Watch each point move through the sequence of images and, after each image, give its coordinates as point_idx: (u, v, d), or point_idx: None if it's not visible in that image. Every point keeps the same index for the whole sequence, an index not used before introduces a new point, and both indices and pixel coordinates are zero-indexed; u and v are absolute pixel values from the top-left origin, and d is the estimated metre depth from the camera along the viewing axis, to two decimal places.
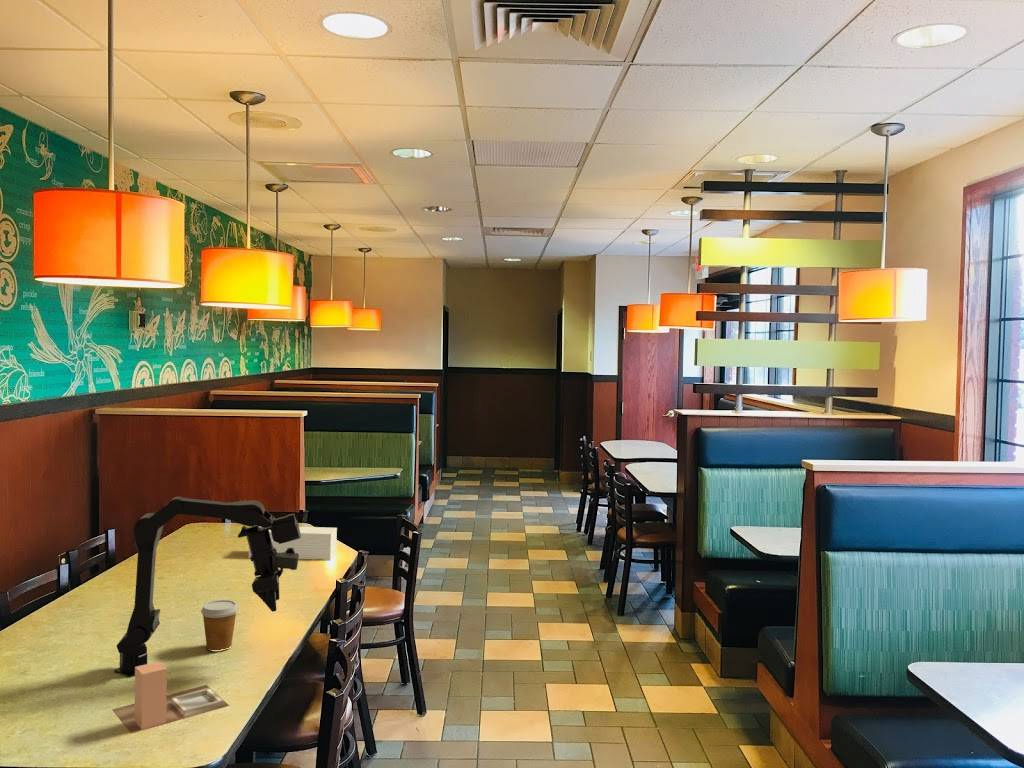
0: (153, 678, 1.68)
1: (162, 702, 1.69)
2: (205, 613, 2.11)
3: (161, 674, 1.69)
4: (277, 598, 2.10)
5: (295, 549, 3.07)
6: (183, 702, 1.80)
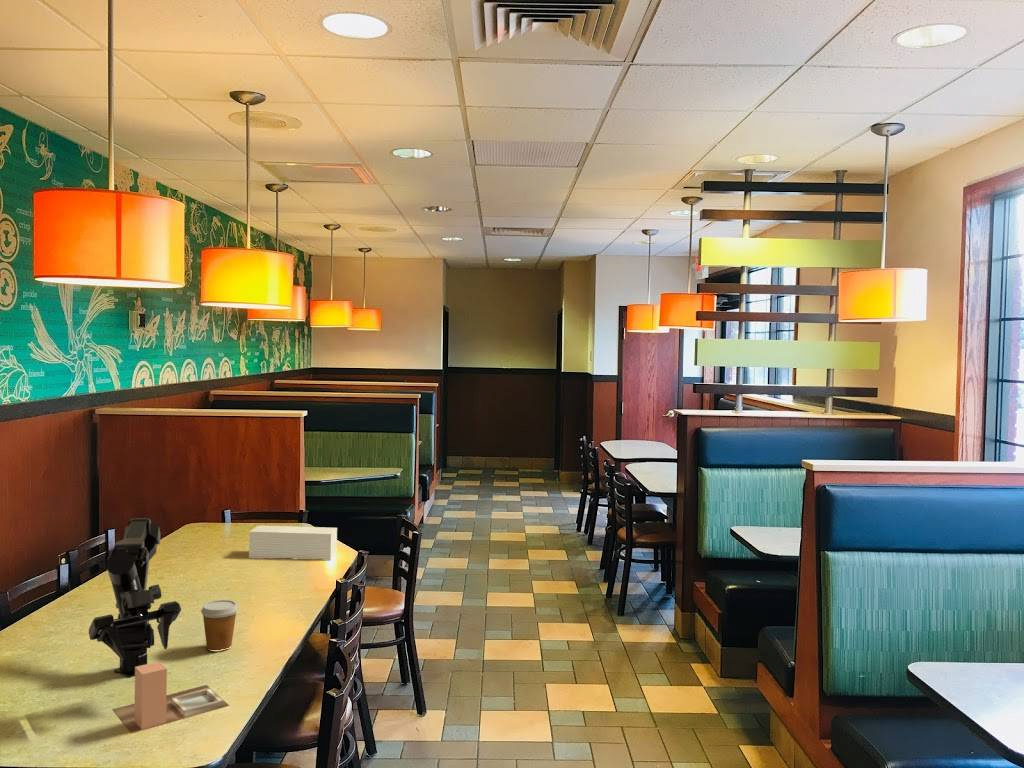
0: (153, 678, 1.68)
1: (162, 702, 1.69)
2: (205, 613, 2.11)
3: (161, 674, 1.69)
4: (164, 646, 1.79)
5: (295, 549, 3.07)
6: (183, 702, 1.80)
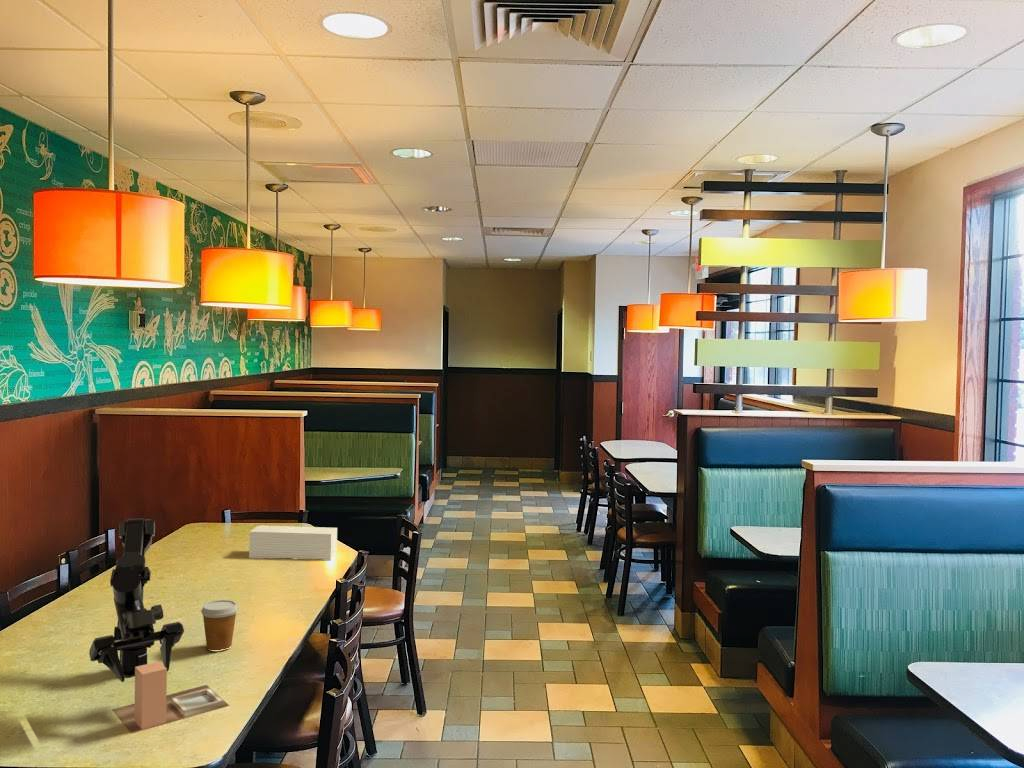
0: (153, 678, 1.68)
1: (162, 702, 1.69)
2: (205, 613, 2.11)
3: (161, 674, 1.69)
4: None
5: (295, 549, 3.07)
6: (183, 702, 1.80)
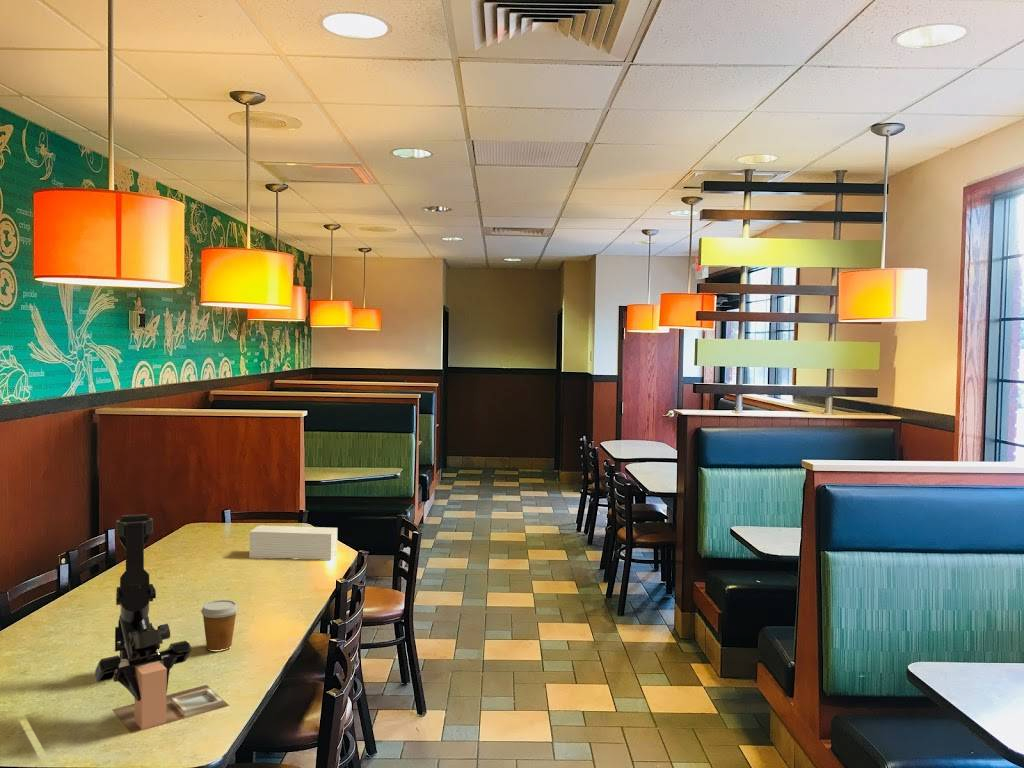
0: (153, 678, 1.68)
1: (162, 702, 1.69)
2: (205, 613, 2.11)
3: (161, 674, 1.69)
4: None
5: (296, 549, 3.07)
6: (183, 702, 1.80)
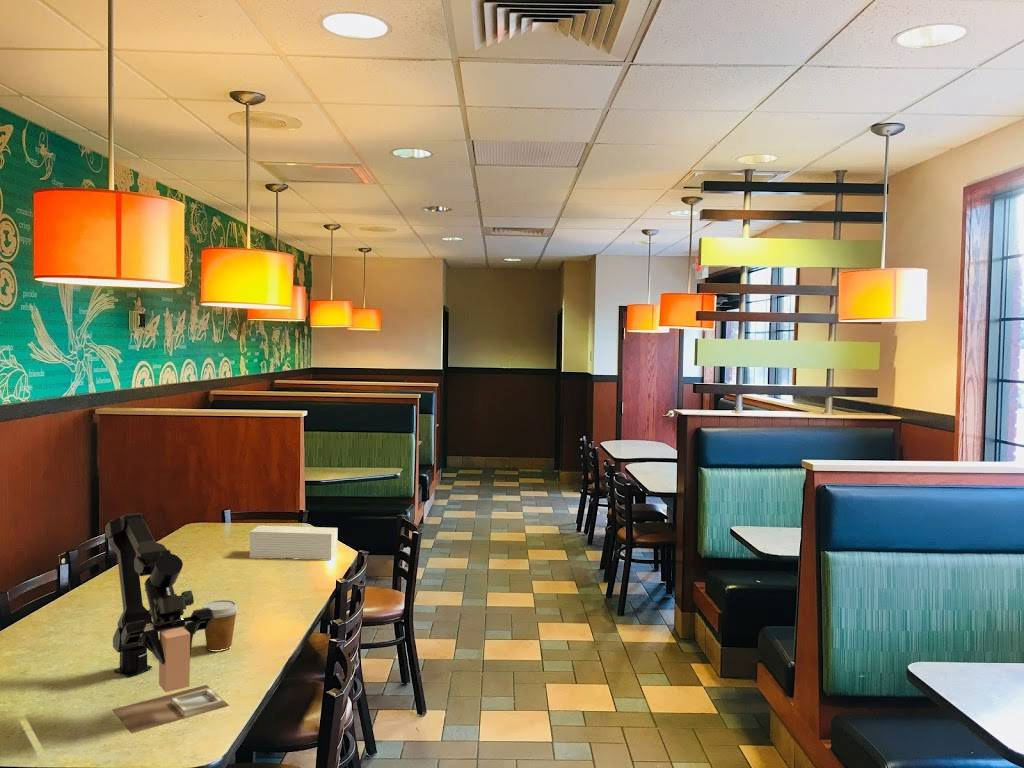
0: (177, 643, 1.72)
1: (186, 666, 1.74)
2: None
3: (185, 638, 1.73)
4: None
5: (296, 549, 3.07)
6: (183, 702, 1.80)
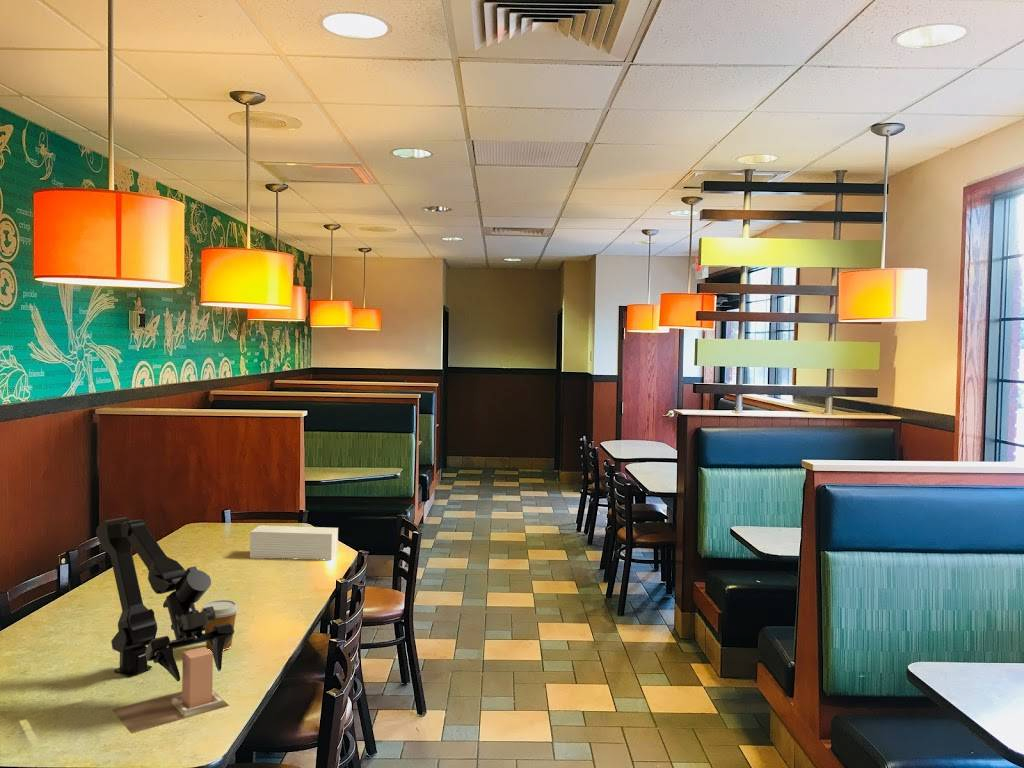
0: (201, 662, 1.77)
1: (209, 685, 1.78)
2: None
3: (208, 658, 1.78)
4: (218, 668, 1.81)
5: (296, 549, 3.07)
6: None
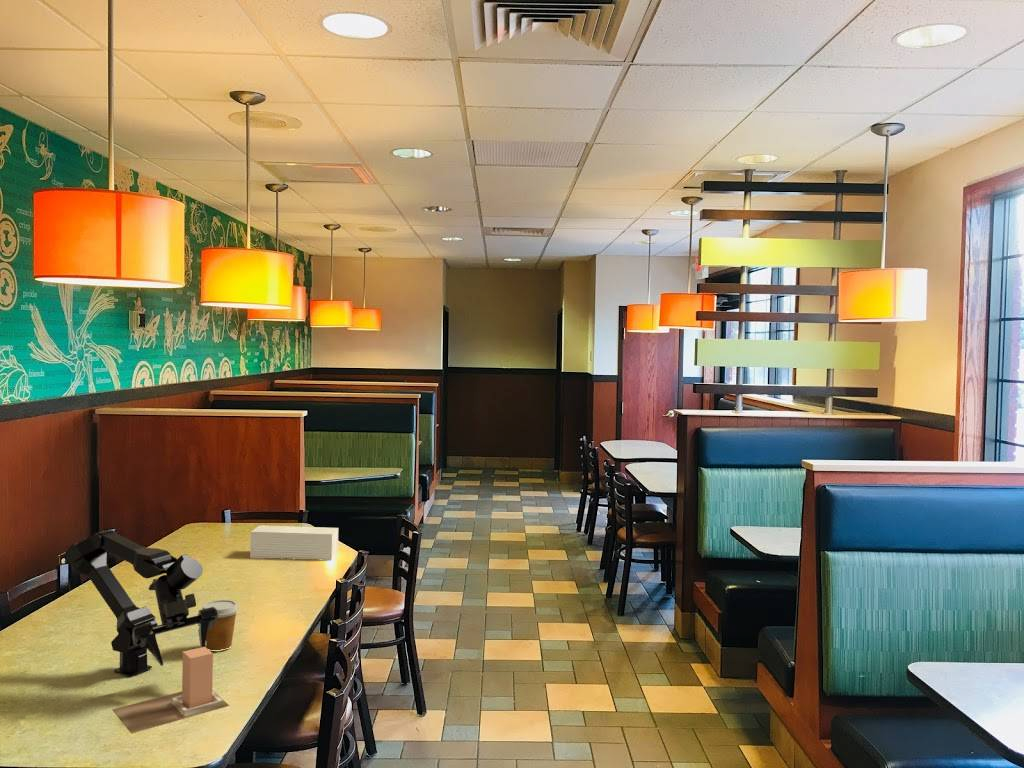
0: (201, 662, 1.77)
1: (209, 685, 1.78)
2: None
3: (208, 658, 1.78)
4: None
5: (296, 549, 3.07)
6: None
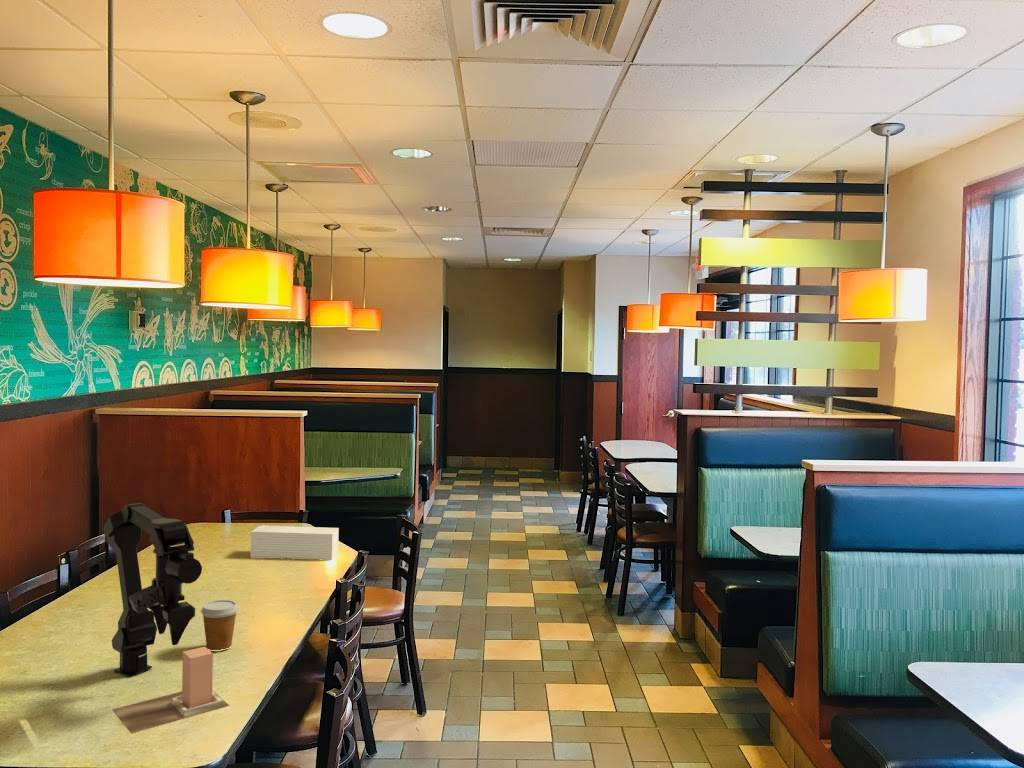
0: (201, 662, 1.77)
1: (209, 685, 1.78)
2: (205, 613, 2.11)
3: (208, 658, 1.78)
4: None
5: (297, 549, 3.07)
6: None
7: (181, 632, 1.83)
